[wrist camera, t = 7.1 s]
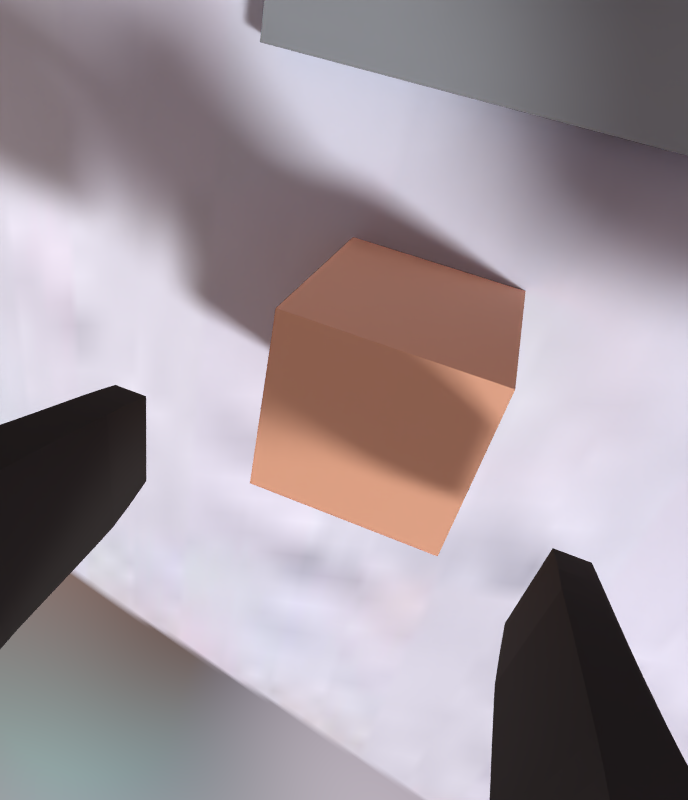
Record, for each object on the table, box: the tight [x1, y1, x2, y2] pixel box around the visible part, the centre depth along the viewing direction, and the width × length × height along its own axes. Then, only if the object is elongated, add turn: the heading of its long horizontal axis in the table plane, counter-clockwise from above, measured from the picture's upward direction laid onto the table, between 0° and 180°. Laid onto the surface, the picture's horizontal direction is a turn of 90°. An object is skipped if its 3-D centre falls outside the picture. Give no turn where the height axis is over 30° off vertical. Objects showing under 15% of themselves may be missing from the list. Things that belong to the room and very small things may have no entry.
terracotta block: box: [250, 237, 525, 556], centre depth 13 cm, size 4×4×5 cm
